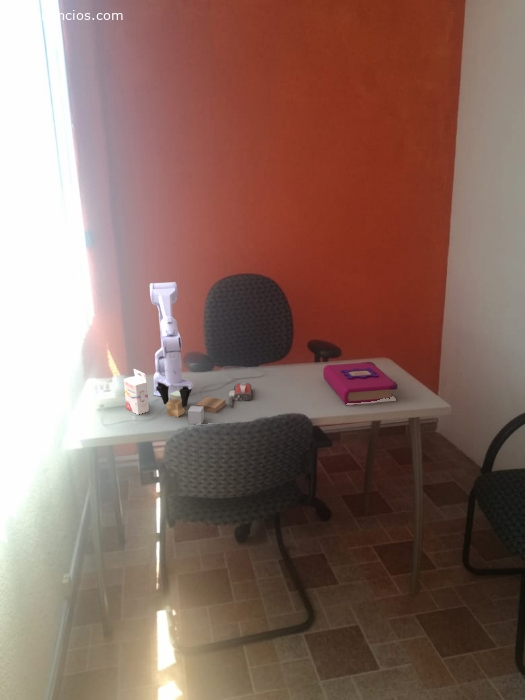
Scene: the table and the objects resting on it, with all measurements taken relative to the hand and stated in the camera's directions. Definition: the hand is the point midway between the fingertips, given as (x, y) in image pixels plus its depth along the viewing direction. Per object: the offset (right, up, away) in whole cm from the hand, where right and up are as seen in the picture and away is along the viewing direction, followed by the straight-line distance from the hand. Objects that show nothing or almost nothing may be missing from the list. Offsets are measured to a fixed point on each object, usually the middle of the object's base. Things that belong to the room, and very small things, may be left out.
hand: (175, 404), depth 198 cm
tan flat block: (+12, -2, +7) cm, 14 cm away
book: (+69, +3, +22) cm, 73 cm away
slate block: (+8, -5, -5) cm, 11 cm away
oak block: (0, -3, +1) cm, 4 cm away
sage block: (0, -1, +8) cm, 9 cm away
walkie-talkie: (+23, +1, +15) cm, 27 cm away
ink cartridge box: (-15, -3, +5) cm, 16 cm away
